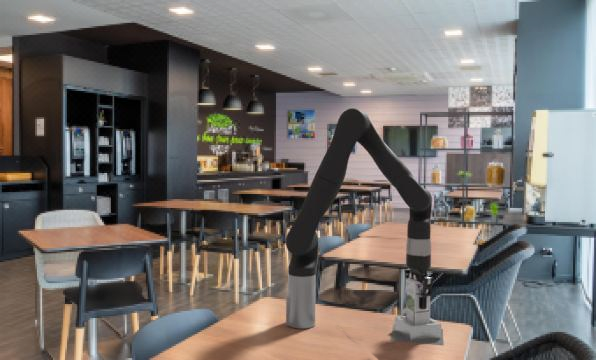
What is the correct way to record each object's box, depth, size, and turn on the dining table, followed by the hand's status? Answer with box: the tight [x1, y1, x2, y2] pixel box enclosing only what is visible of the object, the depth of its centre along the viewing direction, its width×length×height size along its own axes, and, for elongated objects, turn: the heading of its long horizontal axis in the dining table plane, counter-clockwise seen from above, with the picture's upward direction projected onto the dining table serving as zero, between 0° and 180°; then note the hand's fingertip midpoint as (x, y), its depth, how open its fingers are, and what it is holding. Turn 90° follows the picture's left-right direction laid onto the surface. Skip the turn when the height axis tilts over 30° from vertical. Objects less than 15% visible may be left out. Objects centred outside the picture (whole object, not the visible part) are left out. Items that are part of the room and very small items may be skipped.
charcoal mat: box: [389, 324, 445, 346], centre depth 165 cm, size 16×16×1 cm
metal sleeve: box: [394, 315, 442, 341], centre depth 164 cm, size 10×10×4 cm
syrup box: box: [405, 278, 431, 325], centre depth 164 cm, size 6×6×14 cm
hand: (417, 305), depth 164 cm, fingers closed on syrup box, 6 cm apart
